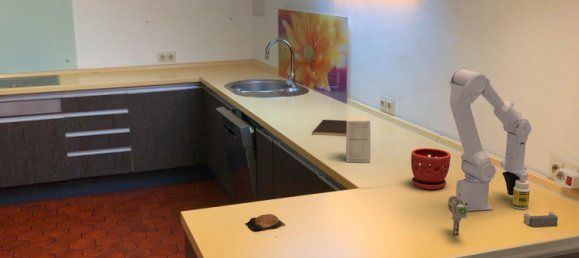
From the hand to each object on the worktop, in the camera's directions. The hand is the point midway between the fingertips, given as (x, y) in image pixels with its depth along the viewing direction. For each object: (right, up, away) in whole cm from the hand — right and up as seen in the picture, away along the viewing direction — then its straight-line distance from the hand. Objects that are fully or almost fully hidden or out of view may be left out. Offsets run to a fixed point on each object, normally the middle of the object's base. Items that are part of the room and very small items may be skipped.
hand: (511, 194), depth 201 cm
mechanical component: (-25, -9, -25) cm, 36 cm away
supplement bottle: (+1, -4, -5) cm, 6 cm away
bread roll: (-79, -8, -17) cm, 81 cm away
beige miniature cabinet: (-45, +9, +45) cm, 64 cm away
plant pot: (-23, +1, +15) cm, 28 cm away
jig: (+2, -7, -18) cm, 19 cm away
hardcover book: (-51, +20, +91) cm, 106 cm away
